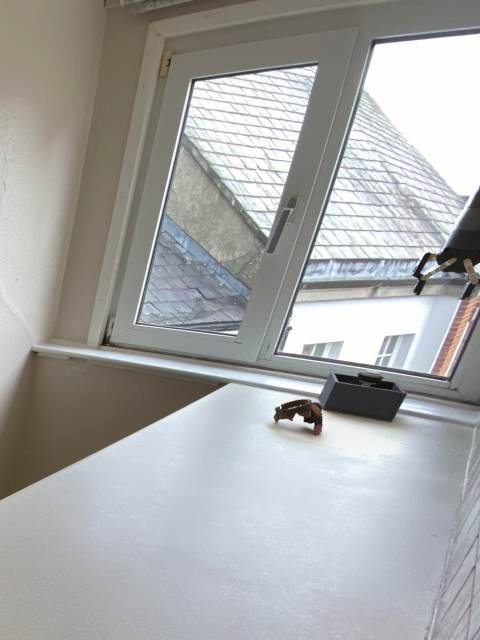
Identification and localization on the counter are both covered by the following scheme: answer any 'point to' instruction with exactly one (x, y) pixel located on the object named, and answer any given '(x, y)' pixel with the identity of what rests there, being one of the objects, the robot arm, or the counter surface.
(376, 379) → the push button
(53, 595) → the counter surface
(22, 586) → the counter surface
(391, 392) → the dark grey open box
